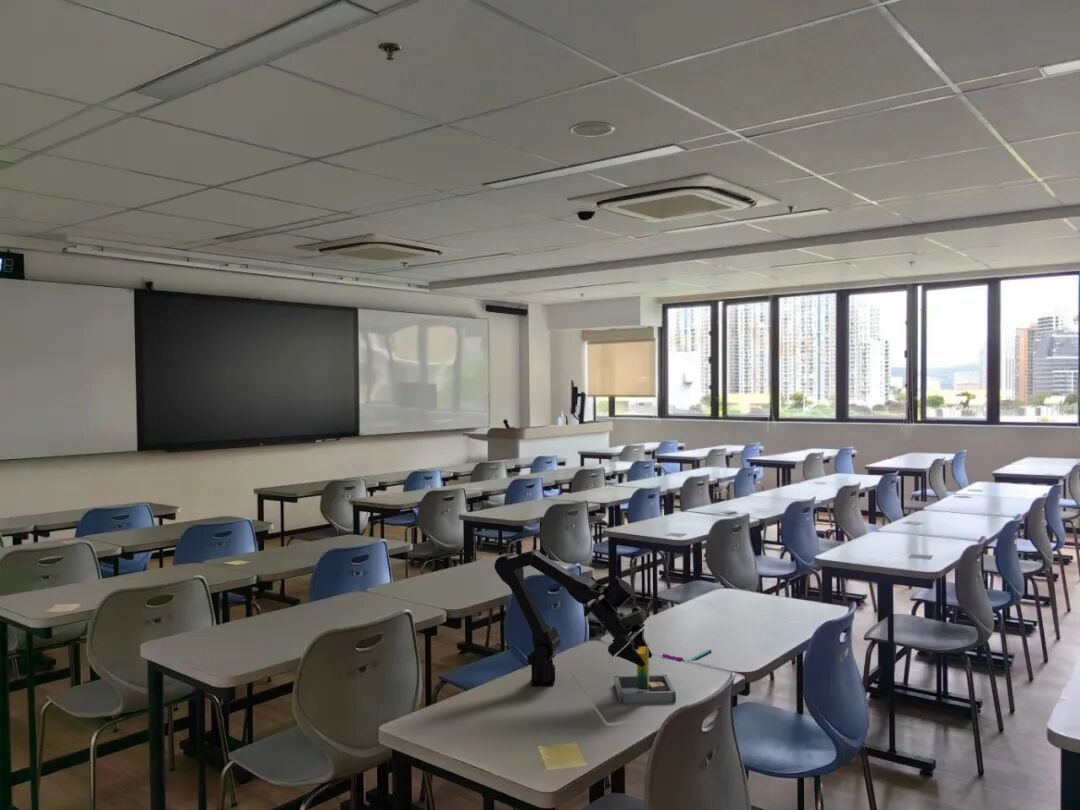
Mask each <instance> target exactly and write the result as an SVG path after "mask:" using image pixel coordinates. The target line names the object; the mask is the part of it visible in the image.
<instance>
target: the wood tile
mask: <svg viewBox="0 0 1080 810" xmlns="http://www.w3.org/2000/svg"><path fill="white" fill-rule="evenodd" d="M648 687H649V688H650V689H651V691H660V690H666V685H665V684H664V683H663V682H662V681H653V682H649V686H648Z"/></svg>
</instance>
